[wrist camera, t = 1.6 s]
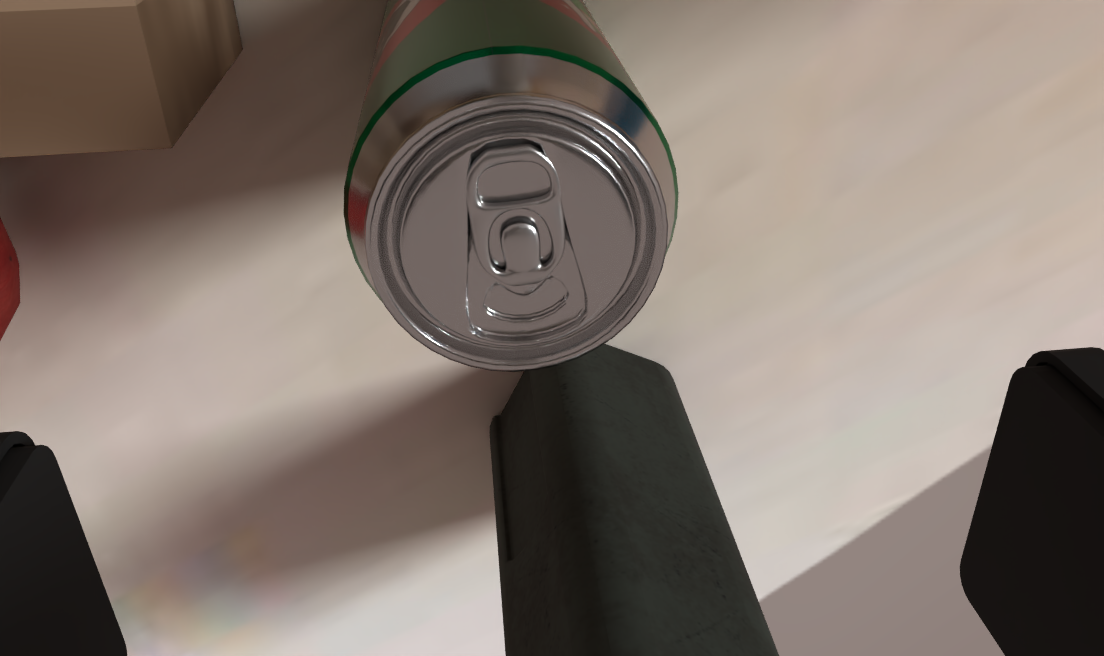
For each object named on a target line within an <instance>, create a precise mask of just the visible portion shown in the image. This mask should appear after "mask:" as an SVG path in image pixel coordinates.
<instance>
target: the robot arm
mask: <svg viewBox="0 0 1104 656" xmlns="http://www.w3.org/2000/svg"><path fill="white" fill-rule="evenodd" d="M960 577H961V582H962V586H963V589H964V592H965V594H966V596H967V598H968V600H969V601H970V603H971V605H972V606H973V608H974V609H975V611H976V612H977V614H978V615H979V617H980V618H981V620H982V621H983V623H984V624H985V626H986V627H987V629H988V630H989V632H990V633H991V635H992V636H993V638H994V639H995V641H996V642H997V644H998V645H999V647H1000V648H1001V650H1002V651H1003V653H1004V655H1005V656H1104V350H1102V349H1100V348H1093V347H1089V348H1076V349H1063V350H1051V351H1040V352H1038V353H1035V354H1033V355H1032V356H1031V358H1030V359H1029V360H1028V361H1027V363H1026V365H1025V367H1022V368H1019V369H1017V370H1016V371H1015V373H1014V374H1013V375H1012V378H1011V380H1010V383H1009V387H1008V391H1007V394H1006V398H1005V402H1004V405H1003V409H1002V412H1001V416H1000V420H999V423H998V427H997V431H996V434H995V438H994V442H993V445H992V449H991V453H990V456H989V460H988V464H987V467H986V471H985V474H984V478H983V482H982V486H981V489H980V493H979V497H978V500H977V504H976V507H975V511H974V515H973V518H972V522H971V526H970V529H969V533H968V537H967V540H966V544H965V548H964V551H963V555H962V558H961V564H960ZM0 656H127V648H126V644H125V641H124V638H123V635H122V633H121V630H120V627H119V625H118V622H117V619H116V617H115V614H114V611H113V609H112V606H111V603H110V601H109V598H108V595H107V593H106V590H105V587H104V585H103V582H102V579H101V577H100V574H99V572H98V569H97V566H96V564H95V561H94V558H93V556H92V553H91V550H90V548H89V545H88V542H87V540H86V537H85V534H84V532H83V529H82V526H81V524H80V521H79V518H78V516H77V513H76V510H75V508H74V505H73V502H72V500H71V497H70V494H69V492H68V489H67V486H66V484H65V481H64V478H63V476H62V473H61V470H60V468H59V465H58V462H57V460H56V457H55V455H54V453H53V452H52V450H51V449H50V448H49V447H48V446H44V445H36V446H35V444H34V442H33V440H32V439H31V438H30V437H29V436H28V435H27V434H26V433H23V432H19V431H15V432H2V433H0Z"/></svg>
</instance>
